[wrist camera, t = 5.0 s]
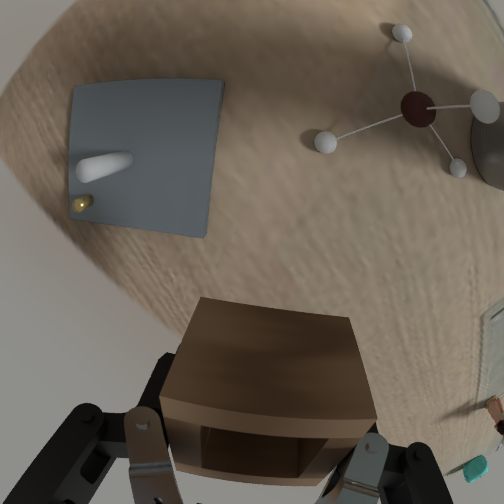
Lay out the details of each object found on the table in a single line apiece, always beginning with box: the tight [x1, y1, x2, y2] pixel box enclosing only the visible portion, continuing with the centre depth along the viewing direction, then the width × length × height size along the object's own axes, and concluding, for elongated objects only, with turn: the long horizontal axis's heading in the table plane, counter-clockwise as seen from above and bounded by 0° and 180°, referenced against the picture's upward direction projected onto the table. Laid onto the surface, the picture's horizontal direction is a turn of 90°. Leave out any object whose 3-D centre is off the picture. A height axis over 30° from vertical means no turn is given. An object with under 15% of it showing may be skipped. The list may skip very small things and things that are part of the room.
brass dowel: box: [72, 194, 94, 213], centre depth 22 cm, size 1×1×2 cm
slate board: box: [68, 78, 225, 238], centre depth 19 cm, size 14×13×7 cm
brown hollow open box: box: [159, 297, 377, 486], centre depth 11 cm, size 6×11×5 cm, turn 173°
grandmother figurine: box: [485, 395, 504, 445], centre depth 29 cm, size 8×4×13 cm, turn 41°
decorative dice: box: [463, 456, 488, 483], centre depth 49 cm, size 8×8×8 cm
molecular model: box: [314, 24, 500, 178], centre depth 14 cm, size 13×15×13 cm
